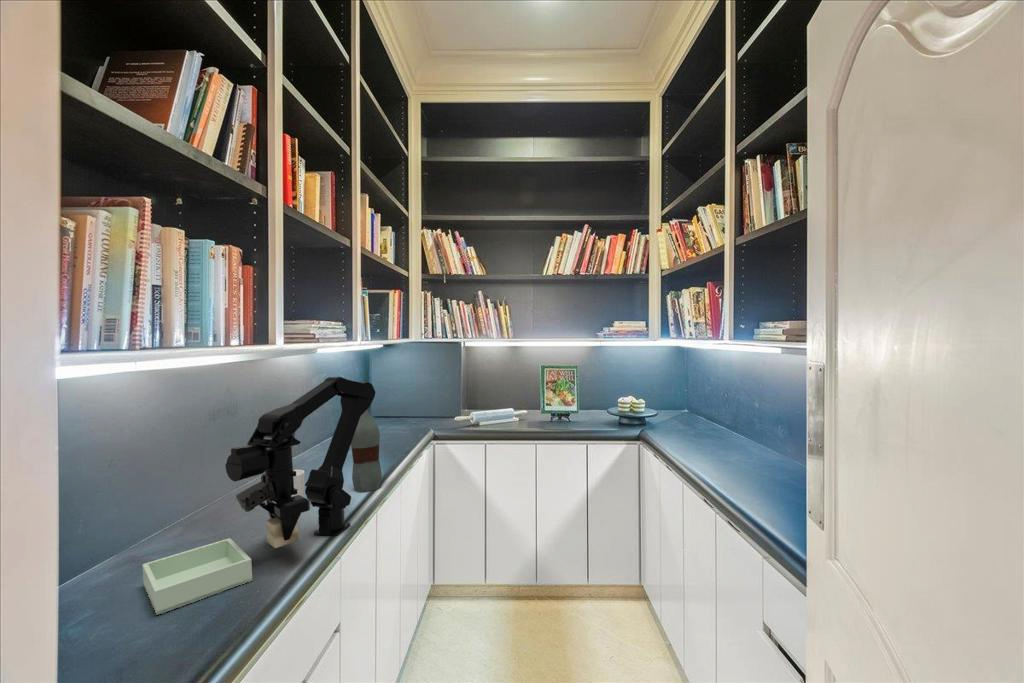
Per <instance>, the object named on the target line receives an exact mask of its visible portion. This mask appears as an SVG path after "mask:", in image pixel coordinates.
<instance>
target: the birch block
mask: <svg viewBox="0 0 1024 683" xmlns="http://www.w3.org/2000/svg"><path fill="white" fill-rule="evenodd" d="M265 522H266V539H267V540H266V541H267V543H268V544H269V545H271V547H273V548H274V549H277V548H280V547H283V546H286V545H289V544H293V543H295V542H298V541H299V527H298V526H299V524H298V522H297V523H296V525H295V528H294V530H293V532H292V535H291V537H290V539H289V540H286V541H285V540H284V538H283V534H282V529H281V525H280V520H279V519H278V518H277V517H275V518H272V519H270V518H269V519H266V520H265Z"/></svg>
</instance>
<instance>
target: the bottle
mask: <svg viewBox="0 0 1024 683" xmlns="http://www.w3.org/2000/svg"><path fill="white" fill-rule="evenodd" d="M380 441H381V438H380V430H379V426H378V423H377V422H376V420H375V419H374V418H373V417H372V415H371V414H370V413H369V408H368V409H367V410H366V411H365V412H364V413H363V414H362V415H361V417H360V419H359V422H358V425H357V428H356V431H355V434H354V437H353V440H352V442H351V445H350V448H351V453H352V454H351V455H352V473H351V474H352V475H351V481H352V486H353V489H354V491H355V492H357V493H368V492H367V491H369V492H374V491H376V490H378V489H380V488H381V485H382V475H383V473H382V468H381V463H380Z"/></svg>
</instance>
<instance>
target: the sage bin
mask: <svg viewBox="0 0 1024 683" xmlns="http://www.w3.org/2000/svg"><path fill="white" fill-rule="evenodd" d="M142 575H143V576H142V578H143V582H142V583H143V588H144V587H145V588H144V590H145V589H146V590H145V593H146V592H147V593H146V595H147V594H148V595H147V597H149V598H148V600H149V599H150V600H149V602H150V601H151V602H150V604H152V605H151V607H152V606H153V607H152V609H153V608H154V609H153V611H154V610H155V612H154V614H155V613H156V614H155V616H156V615H158V614H160V613H163V612H166V611H169V610H172V609H174V608H177V607H181V606H183V605H186V604H189V603H192V604H194V603H193V602H195V601H198V600H200V601H202V600H201V599H203V598H205V597H207V596H210V595H213V594H215V593H218V592H221V591H224V590H227V589H229V588H232V587H235V586H238V585H241V586H243V585H242V584H244V585H246V584H245V583H247V582H249V583H251V582H250V581H252V582H253V566H252V558H251V557H250V556H248V554H246V552H245V551H244V550H243V549H242V548H241V547H239V545H238V544H237V543H236V542H235V541H233V540H232V538H230V537H229V538H226V539H222V540H219V541H216V542H212V543H209V544H206V545H201V546H199V547H195V548H193V549H189V550H185V551H182V552H178V553H175V554H172V555H169V556H165V557H163V558H159V559H155V560H152V561H149V562H146V563H142ZM247 584H248V583H247ZM238 587H239V586H238ZM227 591H228V590H227ZM203 600H204V599H203ZM198 602H199V601H198ZM195 603H196V602H195ZM189 605H190V604H189ZM181 608H182V607H181Z"/></svg>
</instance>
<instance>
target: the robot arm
mask: <svg viewBox="0 0 1024 683" xmlns="http://www.w3.org/2000/svg"><path fill="white" fill-rule="evenodd" d="M335 396H337V397H340V407H341V414H340V416H339V419H338V422H337V424H336V427H335V429H334V432H333V436H332V438H331V440H330V444H329V446H328V449H327V450H326V455H325V457H324V460H323V462H322V464H321V466H320V467H318V468H317V469H313V468H312V469H311V470H310V472H309V475H308V479H307V481H306V482H305V483H304V487H305V491H304V495H306V498H305V496H304V497H302V496H300V495H297V496H293V497H291V495H295V494H297V489H295V488H294V480H293V477H294V476H296V471H294V470H295V469H294V466H293V464H294V463H293V449H292V447H293V446H297V445H300V444H301V441H300V440H299V439H297V438H296V437H294V434H295V433H296V432H297V430H299V429H300V427H301V426H302V423H303V421H304V420H305V419H306V418H307V417H308V416H309V415H311V414H313V413H314V412H315V411H316V410H318V409H319V408H320V407H322V406H323V405H324V404H326V403H327V402H329V401H330V400H332V399H333V398H334V397H335ZM375 397H376V390H375V387H374V386H373V384H372V383H371V382H369V381H364V382H363V381H355V380H352V379H347V378H344V377H342V376H328V377H327V378H325V379H324V380H323V381H322V382H321V383H319V384H318V385H317V386H314V387H313V388H311V390H309V391H308V392H306V393H305V394H303V395H302V396H300V397H299V398H297V399H296V400H294V401H293V402H292V403H290V404H287V405H285V406H281V407H278V408H275V409H273V410H270V411H267V412H266V413H264V414H262V415H261V416H260V417H259V418H258V419H257V420H258V422H257V426H256V428H255V430H254V431H253V433H252V434H251V436H250V438H249V440H248V442H247V445H244V446H236V447H233V448H231V449H230V455H228V456H227V460H226V462H225V471H226V475H227V476H228V478H229V479H230V481H232V482H240V481H242V480H245V479H249V478H253V477H255V476H259V475H261V476H260V481H259V482H257V483H255V484H253V485H251V486H250V487H247V488H246V489H244V490H242V491H241V492H239V493H237V495H235V498H236V500H237V502H238V504H239V505H240V507H241V509H242V510H244V511H245V512H251V511H253V510H255V508H256V507H258V506H259V507H260V508H262V509H264V510H265V511H267V513H268V515H269V519H272V518H275V517H277V518H278V519H279V520H280V525H281V529H282V534H283V538H284V540H285V541H286V540H289V539H290V537H291V535H292V532H293V530H294V528H295V525H296V523H298V520H299V518H300V516H301V514H302V513H305V512H309V511H310V510H311V506H312V507H315V508H318V511H317V514H318V516H317V518H318V520H317V522H318V529H317V530H315V531H314V532H313V535H314V536H315V535H320V536H339V534H341V533H343V531H344V530H346V529H347V528H349V527H350V526H351V523H350V522H345V520H346V519H345V509H346V508H347V507H348V506H350V505H351V500H352V495H351V494H349V492H347V491H345V490H344V489H343V487H344V483H345V478H344V472H343V468H344V464H345V462H346V459H347V456H348V453H349V451H350V448H351V442H352V440H353V437H354V434H355V431H356V428H357V425H358V422H359V419H360V417H361V415H362V414H363V413H364V412H365V411H366V410H367V409H368V410H369V408H371V405H372V404H373V401H374V399H375Z"/></svg>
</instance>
